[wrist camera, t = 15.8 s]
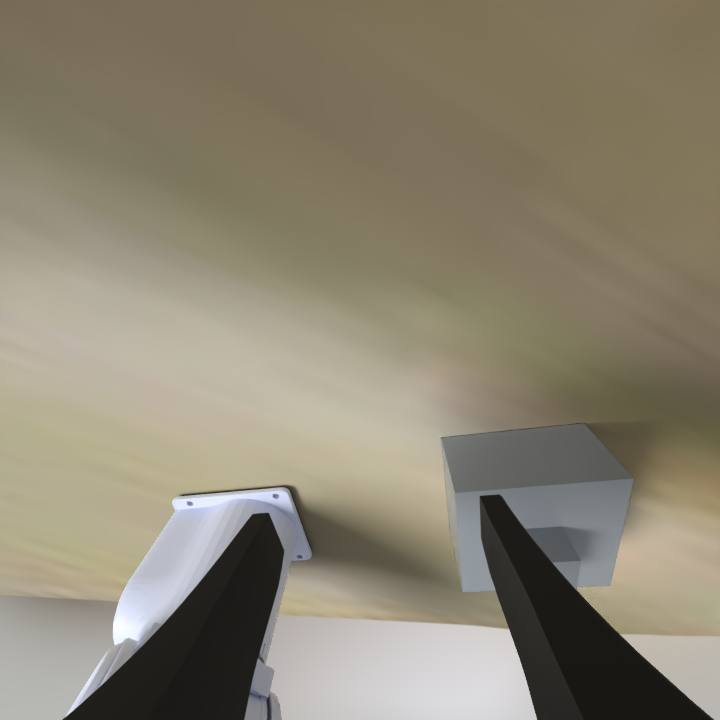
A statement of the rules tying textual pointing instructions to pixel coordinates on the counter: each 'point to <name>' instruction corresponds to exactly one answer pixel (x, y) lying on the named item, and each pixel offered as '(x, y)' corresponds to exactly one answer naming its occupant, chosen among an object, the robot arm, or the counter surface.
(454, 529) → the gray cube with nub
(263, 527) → the robot arm
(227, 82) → the counter surface
